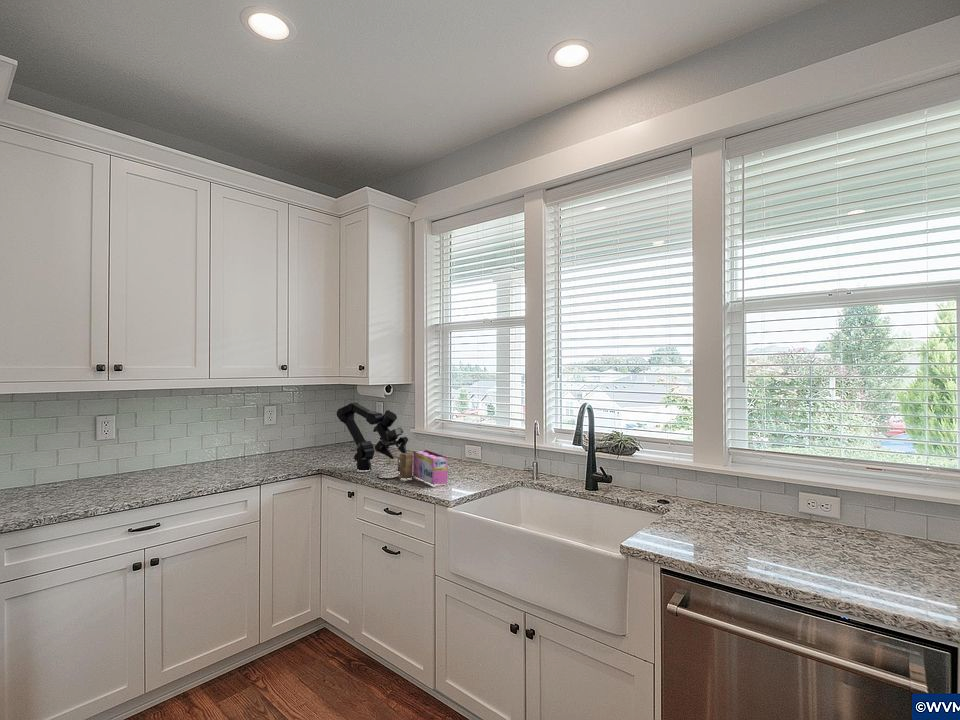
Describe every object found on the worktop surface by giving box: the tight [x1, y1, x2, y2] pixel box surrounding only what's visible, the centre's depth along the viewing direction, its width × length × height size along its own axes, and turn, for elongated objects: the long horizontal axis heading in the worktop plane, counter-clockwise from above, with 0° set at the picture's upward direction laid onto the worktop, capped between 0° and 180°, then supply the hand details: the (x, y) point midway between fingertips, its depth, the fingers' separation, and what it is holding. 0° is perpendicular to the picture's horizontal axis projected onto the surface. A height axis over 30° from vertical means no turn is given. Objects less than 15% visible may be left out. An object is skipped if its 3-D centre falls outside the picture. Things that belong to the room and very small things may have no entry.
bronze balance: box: [385, 454, 400, 471], centre depth 254 cm, size 14×4×10 cm, turn 82°
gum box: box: [412, 449, 449, 485], centre depth 239 cm, size 24×8×14 cm, turn 32°
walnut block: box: [399, 452, 414, 479], centre depth 240 cm, size 4×4×13 cm
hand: (400, 457), depth 243 cm, fingers open, 9 cm apart
